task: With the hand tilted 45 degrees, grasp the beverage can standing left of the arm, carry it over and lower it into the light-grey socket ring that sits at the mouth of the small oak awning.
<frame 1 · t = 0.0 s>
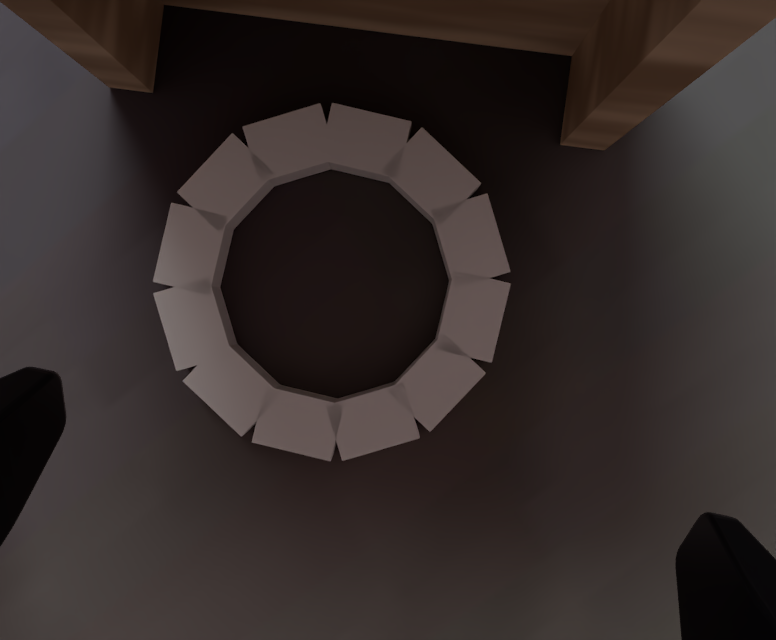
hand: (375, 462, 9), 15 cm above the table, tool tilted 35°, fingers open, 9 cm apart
socket ring: (334, 284, 24), on the table
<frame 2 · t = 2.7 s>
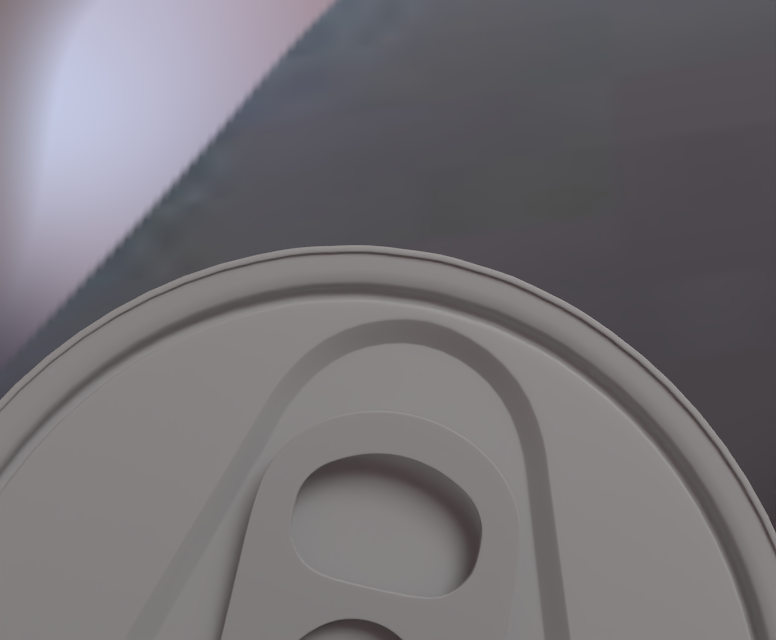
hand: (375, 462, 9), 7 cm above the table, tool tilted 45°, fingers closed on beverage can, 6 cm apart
beverage can: (360, 519, 16), on the table, touching gripper
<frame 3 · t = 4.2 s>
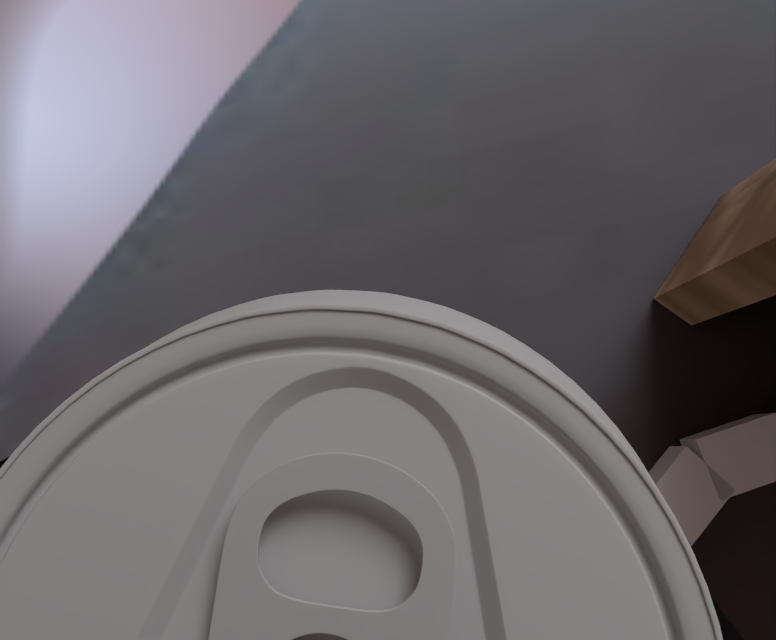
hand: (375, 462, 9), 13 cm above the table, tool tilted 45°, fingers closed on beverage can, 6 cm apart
beverage can: (371, 508, 16), point 6 cm above the table, touching gripper
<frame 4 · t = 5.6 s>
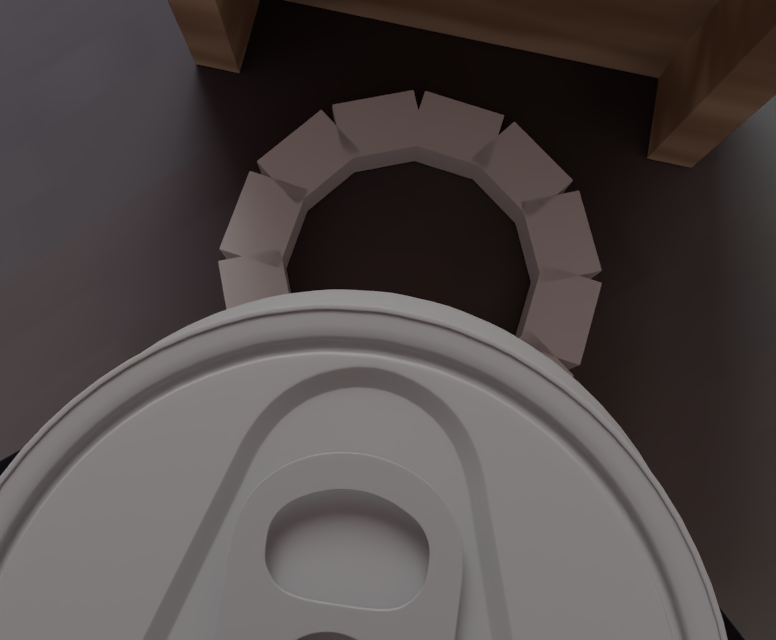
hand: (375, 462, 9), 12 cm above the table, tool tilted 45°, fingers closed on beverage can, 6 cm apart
socket ring: (409, 275, 23), on the table
beverage can: (370, 507, 16), point 5 cm above the table, touching gripper
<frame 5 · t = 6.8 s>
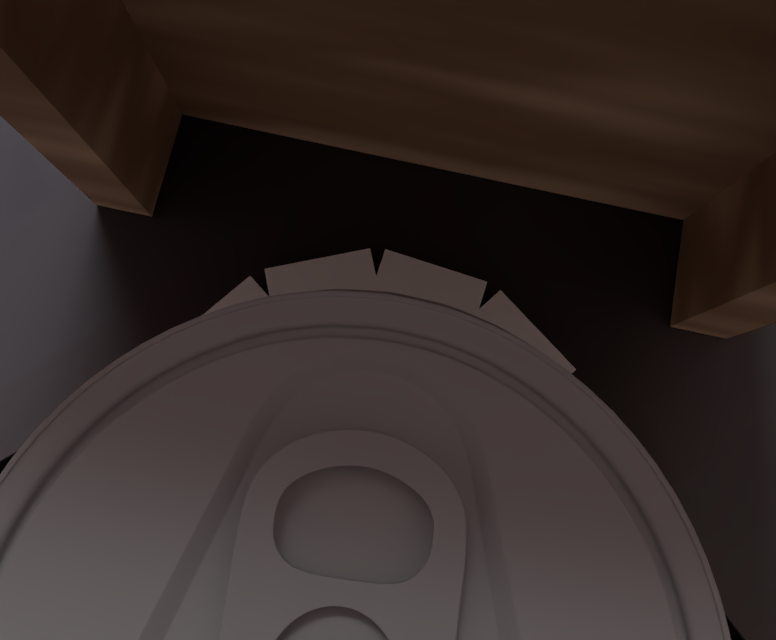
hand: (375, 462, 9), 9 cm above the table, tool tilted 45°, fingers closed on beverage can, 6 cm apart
oak awning: (464, 38, 10), on the table
socket ring: (364, 487, 17), on the table
beverage can: (363, 537, 16), point 1 cm above the table, touching gripper, socket ring
when the fingers open (8 cm above the table, at t = 7.5 s): beverage can stays where it is, resting on socket ring.
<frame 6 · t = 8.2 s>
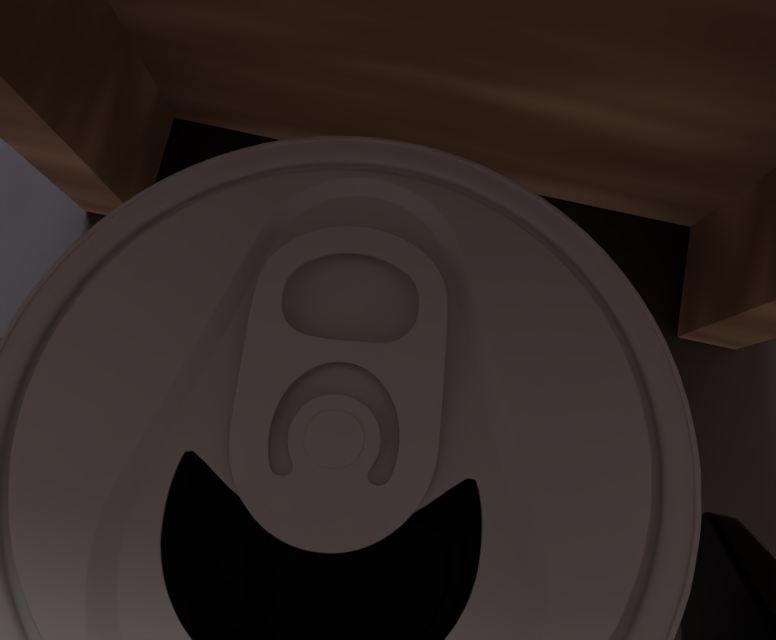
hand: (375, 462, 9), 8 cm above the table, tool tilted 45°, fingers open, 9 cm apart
oak awning: (465, 42, 9), on the table
beverage can: (358, 557, 16), resting on socket ring
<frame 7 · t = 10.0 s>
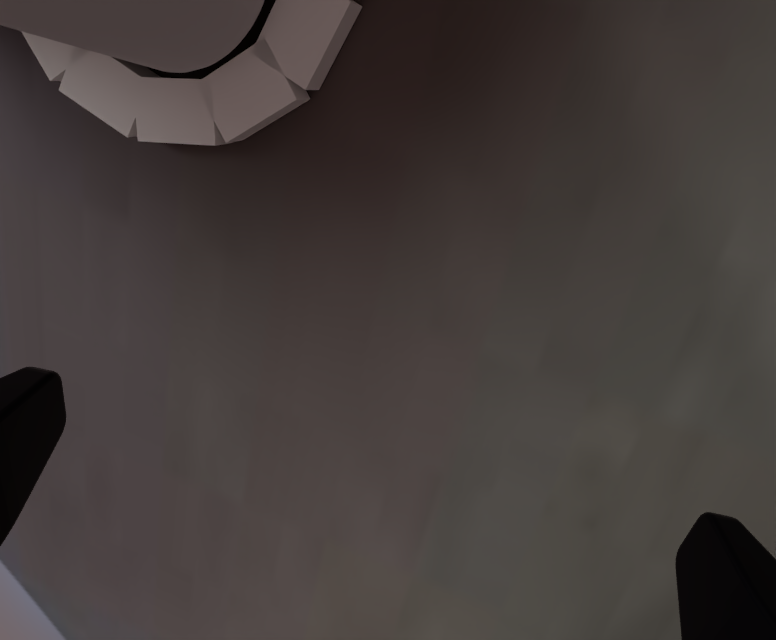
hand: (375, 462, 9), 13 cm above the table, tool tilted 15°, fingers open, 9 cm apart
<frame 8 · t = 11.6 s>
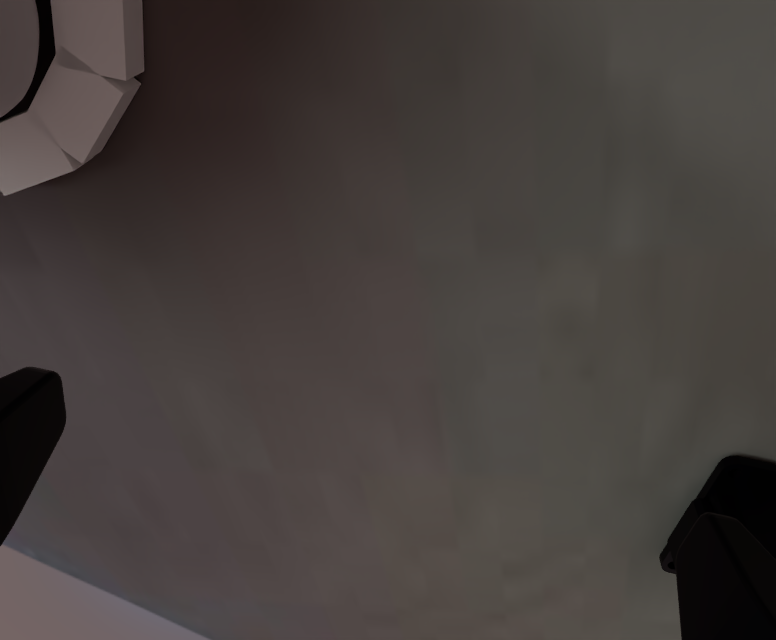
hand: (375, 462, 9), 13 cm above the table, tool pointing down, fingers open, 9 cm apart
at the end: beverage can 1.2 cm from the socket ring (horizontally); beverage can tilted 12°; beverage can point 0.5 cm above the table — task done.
